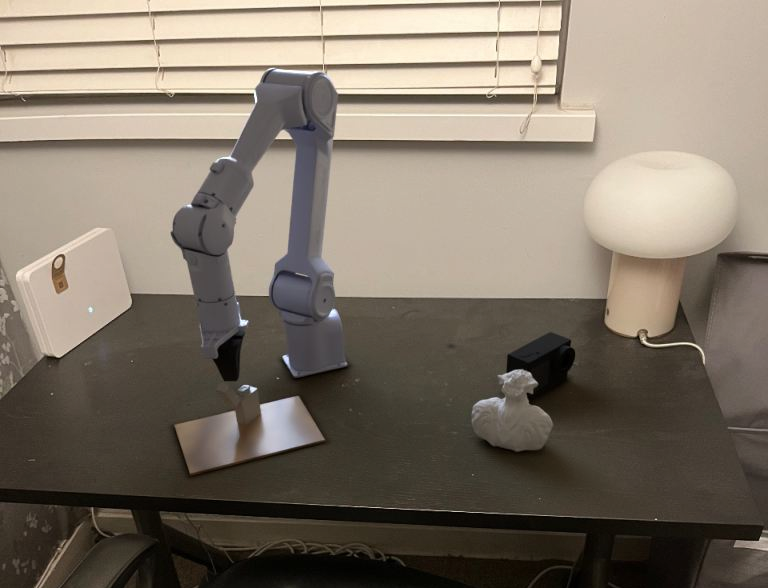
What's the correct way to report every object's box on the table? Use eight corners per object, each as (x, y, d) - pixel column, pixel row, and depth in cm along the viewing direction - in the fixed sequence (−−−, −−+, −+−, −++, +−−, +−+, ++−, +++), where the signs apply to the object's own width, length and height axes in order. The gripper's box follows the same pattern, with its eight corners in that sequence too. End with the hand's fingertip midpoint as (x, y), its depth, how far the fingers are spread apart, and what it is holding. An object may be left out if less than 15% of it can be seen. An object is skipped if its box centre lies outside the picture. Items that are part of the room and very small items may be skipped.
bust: (550, 460, 110) (571, 384, 109) (539, 456, 103) (561, 374, 102) (473, 441, 115) (492, 368, 114) (457, 436, 108) (478, 357, 107)
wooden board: (298, 397, 123) (298, 395, 123) (325, 441, 113) (324, 439, 113) (174, 426, 118) (174, 424, 118) (190, 475, 108) (189, 473, 108)
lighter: (253, 409, 120) (244, 364, 115) (261, 412, 120) (253, 366, 115) (224, 432, 116) (214, 385, 111) (233, 435, 115) (223, 388, 110)
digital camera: (531, 406, 118) (534, 365, 113) (504, 393, 121) (506, 353, 117) (573, 381, 123) (578, 341, 119) (546, 370, 126) (550, 330, 122)
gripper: (229, 316, 102) (246, 404, 111) (253, 273, 114) (266, 356, 122) (178, 316, 103) (199, 403, 112) (207, 274, 114) (223, 356, 123)
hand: (231, 379), depth 117 cm, fingers closed
